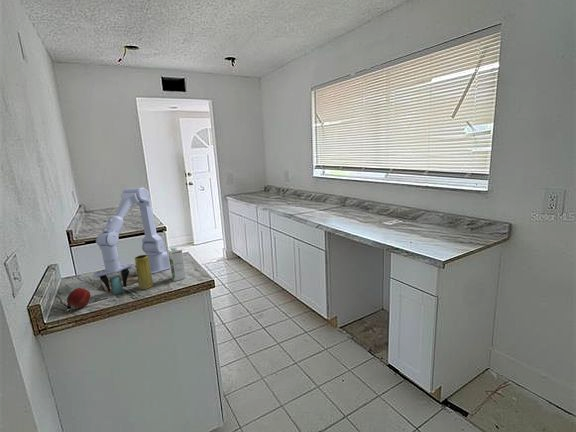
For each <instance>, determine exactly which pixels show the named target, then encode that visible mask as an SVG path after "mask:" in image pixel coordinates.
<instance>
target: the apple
mask: <svg viewBox="0 0 576 432" xmlns="http://www.w3.org/2000/svg"><path fill="white" fill-rule="evenodd" d="M90 300H91V292H90V291H89V290H87V289H86V288H82V287H77V288H75V289H73V290H72V291H71V292H70V293H69V294H68V295H67V299H66V303H67V304H68V305H69V306H73V307H74V308H75V309H76V308H79V309H82V308H84V307H86V306H87V305H88V304H89V302H90Z"/></svg>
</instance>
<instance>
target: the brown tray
mask: <svg viewBox="0 0 576 432" xmlns="http://www.w3.org/2000/svg"><path fill="white" fill-rule="evenodd" d="M119 276H120V278H121V283H122V288H123V287H124V286H123V280H122V275H121V274H120V275H119ZM108 281H109V287H110V290H111V291H112V287H111V283H110V279H108ZM137 283H138V276H137V271H131V272H129V274H128V277H127V283H126V287H127V286H129V285H133V284H137ZM101 286H102V287H103V290H104V291H105V292H106V293H107V292H108V290H107V288H106V286H105V284H104V283H103V281H101ZM124 288H125V287H124Z"/></svg>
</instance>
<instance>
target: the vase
mask: <svg viewBox="0 0 576 432" xmlns="http://www.w3.org/2000/svg"><path fill="white" fill-rule="evenodd" d="M134 261H135V267H136V272H137V276H138V282H137V283H138V288H139V290H147V289H150V288H152V287H154V280H153V277H152V273H151V271H150V266H149V261H148V256H147V255H146V254H141V255H137V256H134Z"/></svg>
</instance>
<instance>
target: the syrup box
mask: <svg viewBox="0 0 576 432" xmlns="http://www.w3.org/2000/svg"><path fill="white" fill-rule="evenodd" d="M167 251H168V252H167V254H168V258H169V264H170V274H171V279H172V281H173V282H177V281H181V280H185V279H187V276H186V269H185V262H184V261H185V260H184V255H183V249H182V248H181V246H177V247H172V248H168V249H167Z"/></svg>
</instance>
